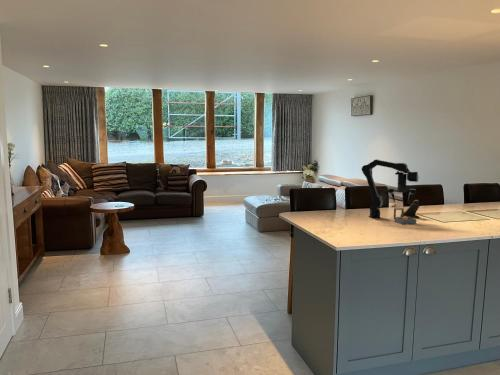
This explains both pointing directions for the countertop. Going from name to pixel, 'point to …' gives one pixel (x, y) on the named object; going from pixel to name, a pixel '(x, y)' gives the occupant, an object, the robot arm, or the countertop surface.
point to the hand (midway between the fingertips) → (401, 203)
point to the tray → (409, 221)
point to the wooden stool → (398, 209)
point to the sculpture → (412, 210)
